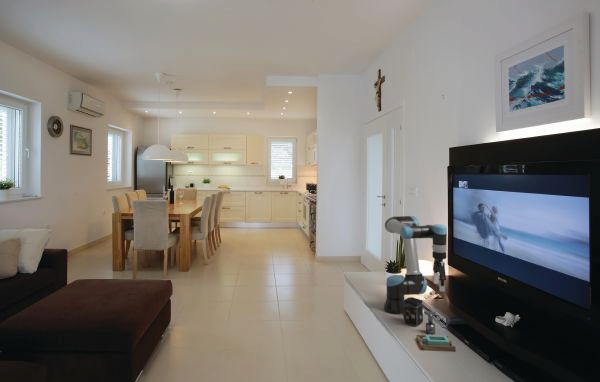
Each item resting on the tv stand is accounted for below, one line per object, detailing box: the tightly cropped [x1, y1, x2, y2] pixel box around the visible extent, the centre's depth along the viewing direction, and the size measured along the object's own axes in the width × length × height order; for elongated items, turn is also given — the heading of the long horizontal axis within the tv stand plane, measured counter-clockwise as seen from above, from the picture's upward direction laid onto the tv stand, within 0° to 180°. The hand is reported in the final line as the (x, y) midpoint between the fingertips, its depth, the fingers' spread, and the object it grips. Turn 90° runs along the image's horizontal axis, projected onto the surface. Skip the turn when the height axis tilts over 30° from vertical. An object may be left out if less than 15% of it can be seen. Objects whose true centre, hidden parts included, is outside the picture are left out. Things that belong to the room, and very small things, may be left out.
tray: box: [416, 334, 456, 352], centre depth 191 cm, size 13×17×2 cm
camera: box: [402, 296, 424, 327], centre depth 220 cm, size 10×11×15 cm
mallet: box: [424, 310, 437, 335], centre depth 206 cm, size 5×6×12 cm
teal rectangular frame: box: [422, 334, 450, 346], centre depth 191 cm, size 13×7×3 cm, turn 83°
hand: (439, 287), depth 207 cm, fingers open, 13 cm apart
